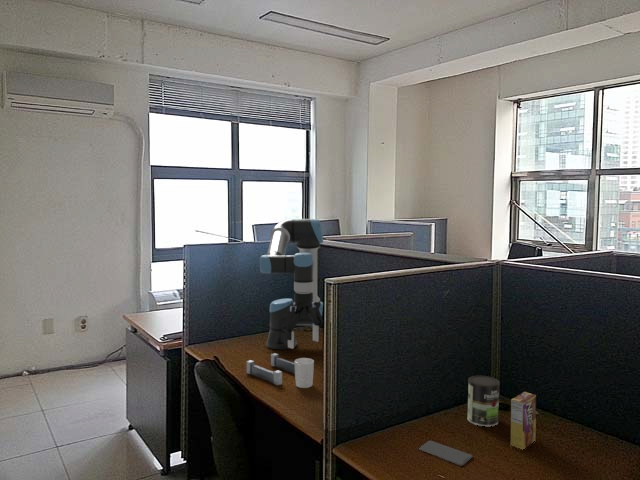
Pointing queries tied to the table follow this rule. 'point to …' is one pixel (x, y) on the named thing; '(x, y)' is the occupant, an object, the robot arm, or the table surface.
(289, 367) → the channel guide
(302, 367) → the white cup
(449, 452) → the smartphone
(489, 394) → the coffee can
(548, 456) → the table surface
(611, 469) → the table surface
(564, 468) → the table surface
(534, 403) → the candy box
